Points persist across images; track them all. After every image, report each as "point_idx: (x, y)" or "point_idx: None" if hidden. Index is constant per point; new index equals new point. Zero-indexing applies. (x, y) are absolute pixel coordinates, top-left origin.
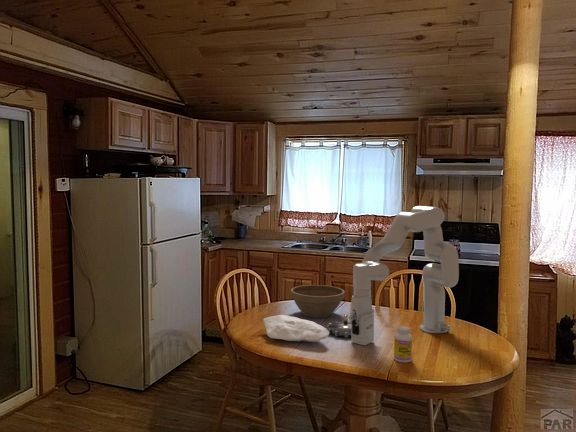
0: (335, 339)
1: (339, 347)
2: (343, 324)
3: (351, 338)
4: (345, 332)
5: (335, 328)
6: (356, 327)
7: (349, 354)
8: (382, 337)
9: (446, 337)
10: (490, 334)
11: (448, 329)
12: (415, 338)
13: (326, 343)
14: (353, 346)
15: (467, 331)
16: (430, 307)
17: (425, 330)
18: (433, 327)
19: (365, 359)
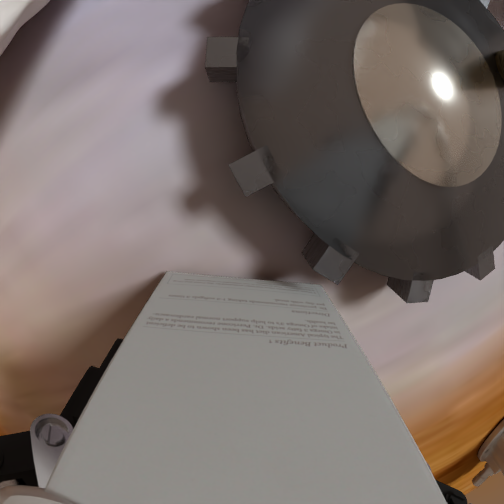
0: (163, 93)
1: (27, 239)
2: (469, 55)
3: (156, 287)
4: (244, 163)
5: (318, 2)
6: None
7: (5, 342)
8: (411, 380)
9: (447, 478)
10: (472, 488)
11: (474, 480)
12: (426, 456)
13: (38, 104)
14: (108, 318)
15: None
16: None
17: (495, 433)
18: (495, 453)
19: (31, 415)
